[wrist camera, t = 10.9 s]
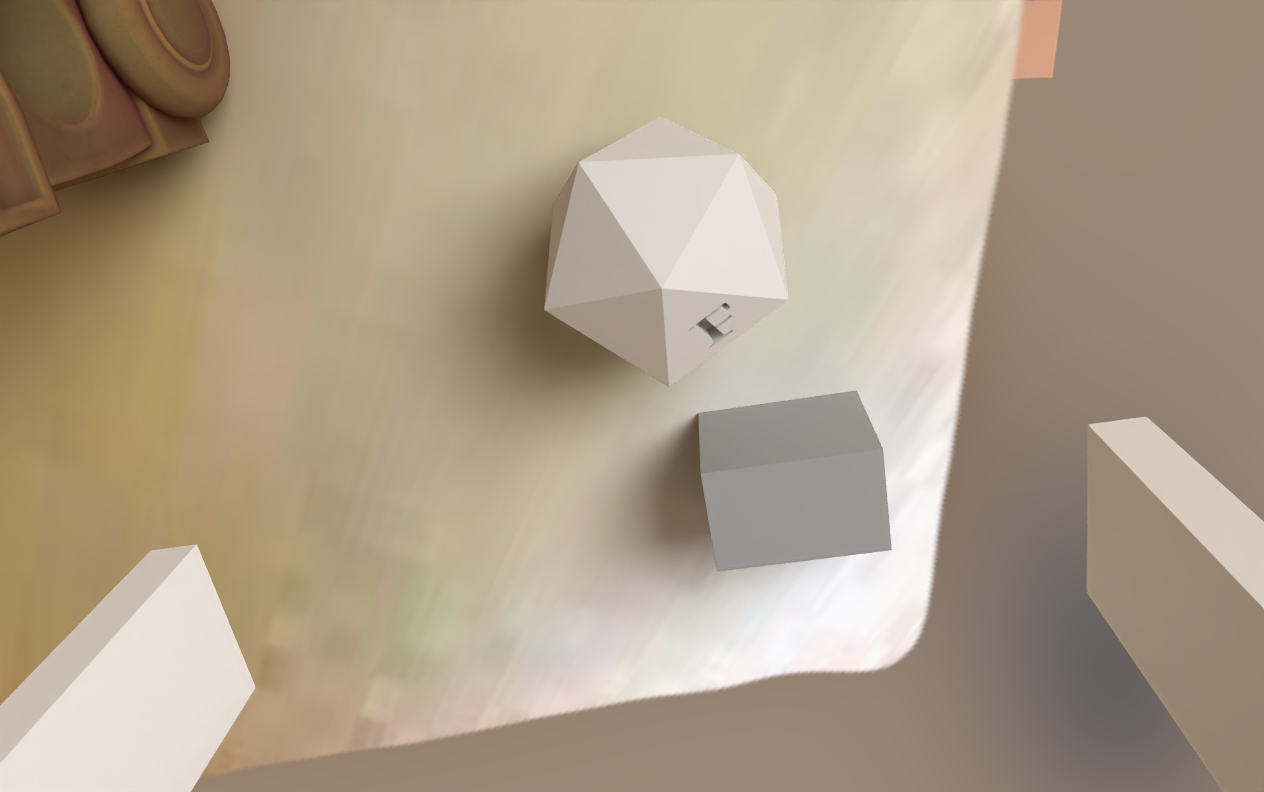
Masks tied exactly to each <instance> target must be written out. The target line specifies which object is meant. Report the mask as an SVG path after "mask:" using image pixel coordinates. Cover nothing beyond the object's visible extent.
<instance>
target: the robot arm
mask: <svg viewBox="0 0 1264 792" xmlns="http://www.w3.org/2000/svg"><path fill="white" fill-rule="evenodd" d="M1087 504H1088V506H1087V507H1088V509H1087V513H1088V514H1087V517H1088V518H1087V593H1088V595H1089V596H1090V597H1091V599H1092V600H1093V602H1094V603H1095V605H1096V606H1097V608H1098V609H1099V611H1100V612H1101V613H1102V615H1103V616H1104V618H1105V619H1106V621H1107V622H1108V624H1109V625H1110V627H1111V628H1112V629H1113V631H1114V633H1115V634H1116V636H1117V637H1118V639H1119V640H1120V641H1121V643H1122V644H1123V646H1124V647H1125V649H1126V650H1127V652H1128V653H1129V655H1130V656H1131V657H1132V659H1133V660H1134V662H1135V663H1136V665H1137V666H1138V668H1139V669H1140V671H1141V672H1142V674H1143V675H1144V677H1145V678H1146V680H1147V681H1148V682H1149V684H1150V685H1151V687H1152V688H1153V690H1154V691H1155V693H1156V694H1157V695H1158V697H1159V698H1160V700H1161V701H1162V703H1163V704H1164V706H1165V707H1166V709H1167V710H1168V712H1169V713H1170V715H1171V716H1172V718H1173V719H1174V720H1175V722H1176V723H1177V725H1178V726H1179V728H1180V729H1181V731H1182V732H1183V734H1184V735H1185V737H1186V738H1187V740H1188V741H1189V743H1190V744H1191V745H1192V747H1193V748H1194V750H1195V751H1196V753H1197V754H1198V756H1199V757H1200V759H1201V760H1202V762H1203V763H1204V764H1205V766H1206V767H1207V769H1208V770H1209V772H1210V773H1211V775H1212V776H1213V778H1214V779H1215V781H1216V782H1217V784H1218V785H1219V786H1220V788H1221V789H1222V791H1223V792H1264V522H1263V521H1262V520H1261V519H1260V518H1259V517H1258V516H1257V515H1255V514H1254V513H1253V512H1252V511H1251V510H1250V509H1249V508H1248V507H1247V506H1245V505H1244V504H1243V503H1242V502H1241V501H1240V500H1239V499H1238V498H1236V497H1235V496H1234V495H1233V494H1232V493H1231V492H1230V491H1228V489H1226V488H1225V487H1224V486H1223V485H1222V484H1221V483H1220V482H1219V481H1218V480H1216V479H1215V478H1214V477H1213V476H1212V475H1211V474H1210V473H1209V472H1208V471H1206V470H1205V469H1204V468H1203V467H1202V466H1201V465H1200V464H1198V463H1197V462H1196V461H1195V460H1194V459H1193V458H1192V457H1191V456H1190V455H1189V454H1187V453H1186V452H1185V451H1184V450H1183V449H1182V448H1181V447H1180V446H1178V445H1177V444H1176V443H1175V442H1174V441H1173V440H1172V439H1171V438H1170V437H1169V436H1167V435H1166V434H1165V433H1164V432H1163V431H1162V430H1161V429H1160V428H1158V427H1157V426H1156V425H1155V424H1154V423H1153V422H1152V421H1151V420H1149V419H1148V418H1147V417H1141V418H1134V419H1126V420H1120V421H1112V422H1104V423H1097V424H1089V425H1088V501H1087ZM255 688H256V687H255V685H254V683H253V680H252V678H251V675H250V673H249V670H248V668H247V666H246V663H245V661H244V658H243V656H242V653H241V651H240V649H239V646H238V644H237V641H236V639H235V636H234V634H233V632H232V629H231V627H230V624H229V622H228V619H227V617H226V614H225V612H224V610H223V607H222V605H221V602H220V600H219V597H218V595H217V593H216V590H215V588H214V585H213V583H212V580H211V578H210V576H209V573H208V571H207V568H206V566H205V563H204V561H203V559H202V556H201V554H200V551H199V549H198V546H197V544H196V545H189V546H181V547H174V548H166V549H159V550H152V551H150V552H149V553H148V554H147V555H146V556H145V557H144V558H143V559H142V560H141V561H140V562H139V563H138V564H137V565H136V566H135V567H134V568H133V569H132V570H131V571H130V572H129V573H128V574H127V575H126V576H125V577H124V578H123V579H122V580H121V581H120V583H119V584H118V585H117V586H116V587H115V588H114V589H113V590H112V591H111V592H110V593H109V594H108V595H107V596H106V597H105V598H104V599H103V600H102V601H101V602H100V603H99V604H98V605H97V606H96V607H95V608H94V609H93V610H92V611H91V612H90V613H89V614H88V615H87V616H86V618H85V619H84V620H83V621H82V622H81V623H80V624H79V625H78V626H77V627H76V628H75V629H74V630H73V631H72V632H71V633H70V634H69V635H68V636H67V637H66V638H65V639H64V640H63V641H62V642H61V643H60V644H59V645H58V646H57V647H56V648H55V649H54V650H53V651H52V653H51V654H50V655H49V656H48V657H47V658H46V659H45V660H44V661H43V662H42V663H41V664H40V665H39V666H38V667H37V668H36V669H35V670H34V671H33V672H32V673H31V674H30V675H29V676H28V677H27V678H26V679H25V680H24V681H23V682H22V683H21V684H20V685H19V686H18V688H17V689H16V690H15V691H14V692H13V693H12V694H11V695H10V696H9V697H8V698H7V699H6V700H5V701H4V702H3V703H2V704H1V705H0V792H191V790H192V789H193V787H194V785H195V784H196V782H197V781H198V779H199V777H200V776H201V774H202V773H203V771H204V769H205V768H206V766H207V765H208V763H209V761H210V760H211V758H212V757H213V755H214V753H215V752H216V750H217V749H218V747H219V745H220V744H221V742H222V740H223V739H224V737H225V736H226V734H227V732H228V731H229V729H230V728H231V726H232V724H233V723H234V721H235V720H236V718H237V716H238V715H239V713H240V712H241V710H242V708H243V707H244V705H245V704H246V702H247V700H248V699H249V697H250V696H251V694H252V692H253V691H254V689H255Z"/></svg>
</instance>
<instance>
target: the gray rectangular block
mask: <svg viewBox="0 0 1264 792" xmlns="http://www.w3.org/2000/svg"><path fill="white" fill-rule="evenodd" d="M698 416H699V444H700V471H701V479H702V485H703V491H704V497H705V503H706V509H707V515H708V521H709V527H710V533H711V539H712V545H713V551H714V557H715V563H716V569H717V571H725V570H733V569H741V568H749V567H757V566H765V565H774V564H782V563H790V562H798V561H806V560H815V559H823V558H831V557H839V556H847V555H856V554H864V553H872V552H880V551H888V550H892V549H891V538H890V526H889V514H888V503H887V491H886V479H885V467H884V456H883V448H882V446H881V444H880V442H879V439H878V437H877V435H876V433H875V431H874V428H873V426H872V424H871V422H870V420H869V417H868V415H867V413H866V411H865V409H864V406H863V404H862V402H861V400H860V397H859V395H858V393H857V391H851V392H844V393H837V394H830V395H823V396H816V397H809V398H802V399H795V400H788V401H781V402H773V403H766V404H759V405H752V406H745V407H738V408H731V409H724V410H717V411H710V412H703V413H698Z"/></svg>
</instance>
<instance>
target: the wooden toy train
mask: <svg viewBox="0 0 1264 792" xmlns="http://www.w3.org/2000/svg"><path fill="white" fill-rule="evenodd" d="M229 77H230V57H229V52H228V47H227V42H226V37H225V34H224V31H223V28H222V25H221V22H220V19H219V17H218V14H217V11H216V9H215V7H214V5H213V3H212V1H211V0H0V237H1V236H3V235H6V234H8V233H11V232H13V231H16V230H18V229H20V228H23V227H25V226H28V225H30V224H33V223H35V222H38V221H40V220H43V219H45V218H48V217H50V216H53V215H55V214H58V213H60V212H61V210H60V207H59V204H58V202H57V199H56V196H55V194H54V191H57V190H60V189H63V188H66V187H69V186H72V185H75V184H79V183H82V182H85V181H88V180H91V179H94V178H97V177H100V176H104V175H107V174H110V173H113V172H116V171H119V170H122V169H125V168H129V167H132V166H135V165H138V164H141V163H144V162H147V161H151V160H154V159H157V158H160V157H163V156H166V155H169V154H172V153H176V152H179V151H182V150H185V149H188V148H191V147H194V146H197V145H201V144H204V143H207V142H209V140H208V138H207V135H206V133H205V131H204V129H203V126H202V124H201V122H200V120H199V118H202V117H203V116H205V115H206V114H208V113H209V112H211V111H212V110H213V109H214V108H215V107H216V106H217V105H218V104H219V103H220V102H221V100H222V99H223V96H224V94H225V91H226V88H227V86H228V82H229Z"/></svg>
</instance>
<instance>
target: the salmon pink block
mask: <svg viewBox="0 0 1264 792" xmlns="http://www.w3.org/2000/svg"><path fill="white" fill-rule="evenodd" d="M1062 1H1063V0H1032V1H1031V0H1030V1H1023V8H1022V16H1021V24H1020V32H1019V40H1018V47H1017V53H1016V58H1015V65H1014V72H1013V79H1022V78H1052V77H1053V70H1054V62H1055V55H1056V47H1057V40H1058V32H1059V24H1060V16H1061V9H1062Z"/></svg>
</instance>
